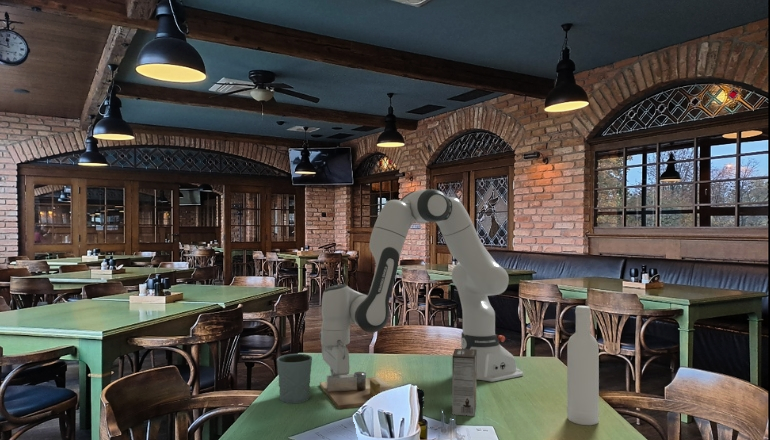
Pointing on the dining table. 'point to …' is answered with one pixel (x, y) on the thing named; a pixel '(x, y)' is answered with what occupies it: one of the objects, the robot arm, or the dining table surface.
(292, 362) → the grey cup
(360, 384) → the swing bar
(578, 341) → the bottle
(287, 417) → the dining table surface
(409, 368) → the dining table surface
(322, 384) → the plate
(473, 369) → the coffee box
